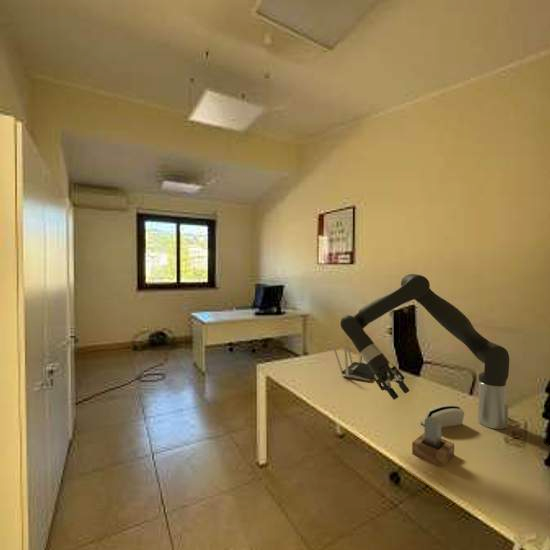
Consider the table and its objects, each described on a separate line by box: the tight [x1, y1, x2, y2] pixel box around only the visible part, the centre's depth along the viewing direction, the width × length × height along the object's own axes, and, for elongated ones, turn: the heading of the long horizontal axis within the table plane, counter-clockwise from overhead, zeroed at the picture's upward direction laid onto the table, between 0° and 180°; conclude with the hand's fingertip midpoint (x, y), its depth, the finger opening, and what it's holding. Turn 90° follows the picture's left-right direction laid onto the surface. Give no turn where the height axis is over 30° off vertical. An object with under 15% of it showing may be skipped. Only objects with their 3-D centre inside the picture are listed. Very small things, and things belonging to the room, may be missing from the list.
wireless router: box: [331, 336, 377, 382], centre depth 194 cm, size 34×23×20 cm
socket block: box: [411, 431, 455, 468], centre depth 110 cm, size 10×10×4 cm
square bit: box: [424, 416, 442, 450], centre depth 110 cm, size 4×4×12 cm
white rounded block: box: [419, 403, 465, 429], centre depth 130 cm, size 17×5×10 cm, turn 104°
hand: (402, 395), depth 118 cm, fingers open, 8 cm apart
